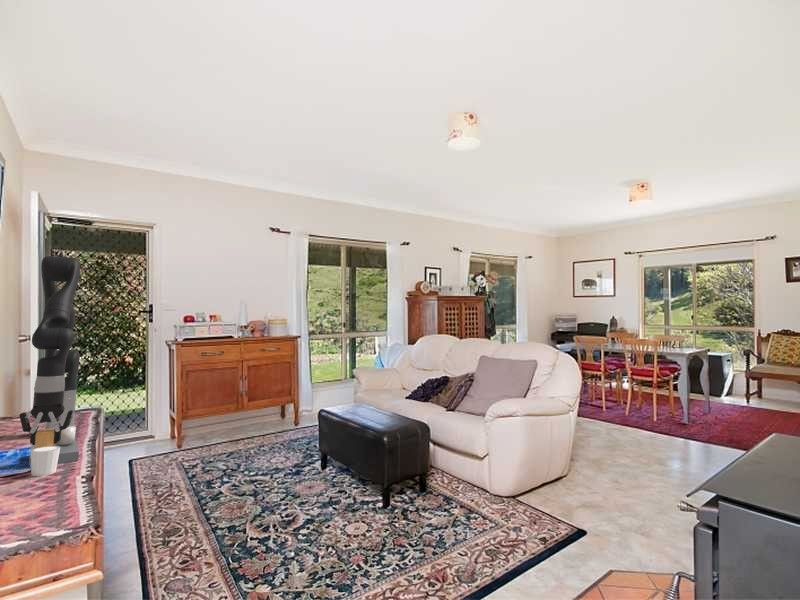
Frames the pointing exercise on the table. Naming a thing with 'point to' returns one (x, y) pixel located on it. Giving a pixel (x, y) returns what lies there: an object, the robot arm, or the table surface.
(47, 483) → the table surface
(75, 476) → the table surface
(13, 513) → the table surface
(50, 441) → the orange wire cap
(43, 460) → the white tapered cup
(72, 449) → the plate
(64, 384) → the robot arm
